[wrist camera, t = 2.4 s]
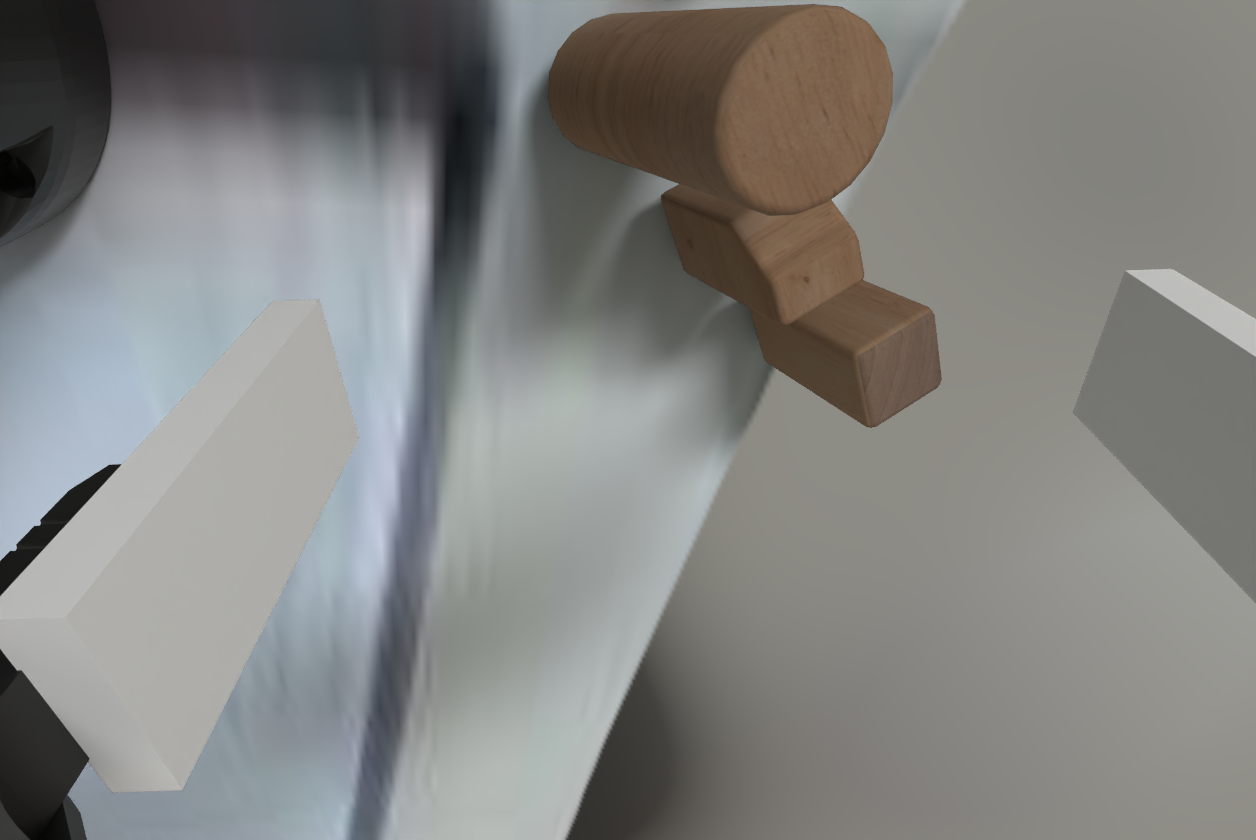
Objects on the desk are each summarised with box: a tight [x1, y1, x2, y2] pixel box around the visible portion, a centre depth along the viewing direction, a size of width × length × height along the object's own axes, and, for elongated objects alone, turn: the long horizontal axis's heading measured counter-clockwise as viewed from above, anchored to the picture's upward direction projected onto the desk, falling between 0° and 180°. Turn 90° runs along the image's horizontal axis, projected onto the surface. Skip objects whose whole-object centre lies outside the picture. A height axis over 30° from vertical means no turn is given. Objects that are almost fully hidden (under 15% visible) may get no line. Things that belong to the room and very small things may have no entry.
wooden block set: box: [548, 4, 941, 428], centre depth 20 cm, size 18×9×10 cm, turn 19°
